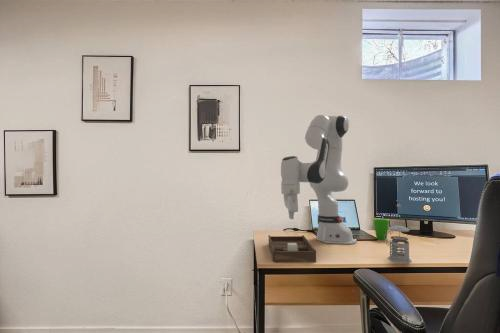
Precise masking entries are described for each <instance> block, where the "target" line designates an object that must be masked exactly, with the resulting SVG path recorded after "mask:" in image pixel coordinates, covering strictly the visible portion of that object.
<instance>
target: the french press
mask: <svg viewBox="0 0 500 333" xmlns="http://www.w3.org/2000/svg"><path fill="white" fill-rule="evenodd" d="M396 207H397V208H401V207H402V205H401V204H399V203H397V204H396ZM394 232H397V233H398V236H396V235H395V236H390V240H389V239H386V240H384V242H385V244H386V246H388V247H389V256H387V259H388V260H389V261H391V262H395V263H399V264H409V263H412V261H413V260H412V259H411V258H410V242H409V238H408V237H405V236H400V235H401V234H400V233H408V232H410V229H409V228H408V227H406V226H402V225H400V224H398V225H393V226H389V227H388V231H387V232H386V233H387V235H388V234H390V235H392V234H393V233H394ZM386 233H385V235H386ZM384 238H385V236H384ZM388 240H389V241H388Z"/></svg>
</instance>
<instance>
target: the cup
mask: <svg viewBox="0 0 500 333" xmlns="http://www.w3.org/2000/svg"><path fill="white" fill-rule="evenodd" d="M372 221H373V227H374V231H375V238H376V239H377V240H379V241H387V238H388V234H387V233H388V232H387V231H389V224H390V220H389V219H384V218H374V219H373V220H372ZM386 232H387V233H386ZM385 233H386V235H385ZM384 236H385V238H384Z"/></svg>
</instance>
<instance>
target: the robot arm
mask: <svg viewBox="0 0 500 333" xmlns="http://www.w3.org/2000/svg"><path fill="white" fill-rule="evenodd" d="M349 124H350V122H349V119H348V118H347V116H344V115H328V116H326V115H324V114H318V115H316V116H315V117H314V118H313V119H312V120H311V122H310V123H309V126H308V127H307V129H306V132H305V134H304V135H305V136H304V140H305V143H306V144H307V145H308V146H309V147H310V148H312V149H314V150H317V151H316V152H317V153H316V158H315V161H313V162H301V161H300V160H299V158H298V156H295V155H292V156H285V157H283V158H282V160H281V162H280V164H281V165H280V176H281V182H280V183H281V184H280V187H281V188H280V190H281V195H283V201H284V206H285V208H286V209H287V211H288V218H289V220H294V216H295V213H298V212H299V200H298V195H299V194H301V188H300V186H301V184H300V183H309V186H310V188H312V190H313V191H314V194H315V195H316V198H317V203H318V204H317V205H318V215H317V225H318V226H317V231H316V232H317V233H316V237H315V240H317V241H319V242H322V243H325V244H338V245H354V244H356V243H357V238H356V239H353V236H354V235H353V232H352V230H351V228H350V227H348V226H347V225H346V224H344V222H342V220H343V216H340V215H339V203H338V200H337V199H336V198H335V197H334V196H333V193H338V192H339V193H340V192H344V191H346V190H347V189H348V186H349V180H348V177H347V176H346V175H345V172H343V169H342V153H343V152H342V151H343V137H344V135H346V134H347V132H348V131H349V128H350V127H349Z"/></svg>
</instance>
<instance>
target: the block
mask: <svg viewBox="0 0 500 333" xmlns="http://www.w3.org/2000/svg"><path fill="white" fill-rule="evenodd" d="M287 246H288V251H297V244H296V243H287Z"/></svg>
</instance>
